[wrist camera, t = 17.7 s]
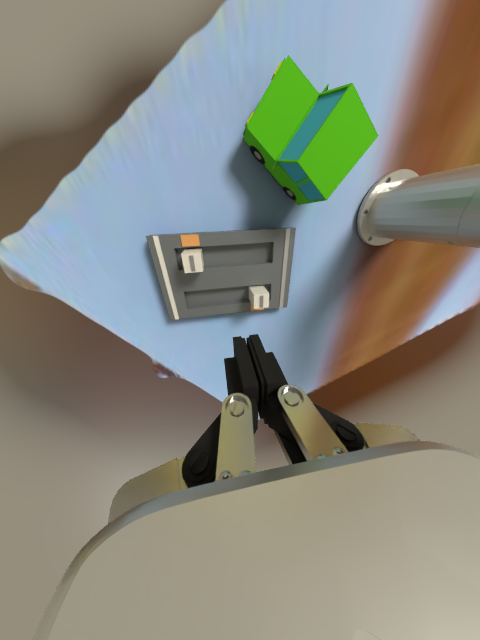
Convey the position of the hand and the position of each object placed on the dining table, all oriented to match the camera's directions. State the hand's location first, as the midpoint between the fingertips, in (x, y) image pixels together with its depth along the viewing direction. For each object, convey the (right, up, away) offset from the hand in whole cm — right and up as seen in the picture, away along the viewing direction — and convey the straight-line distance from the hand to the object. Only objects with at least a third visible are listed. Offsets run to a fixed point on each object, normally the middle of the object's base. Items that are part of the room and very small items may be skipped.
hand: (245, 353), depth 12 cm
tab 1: (-9, +14, +20) cm, 26 cm away
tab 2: (+3, +8, +26) cm, 27 cm away
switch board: (-3, +12, +24) cm, 27 cm away
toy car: (+7, +30, +16) cm, 34 cm away
